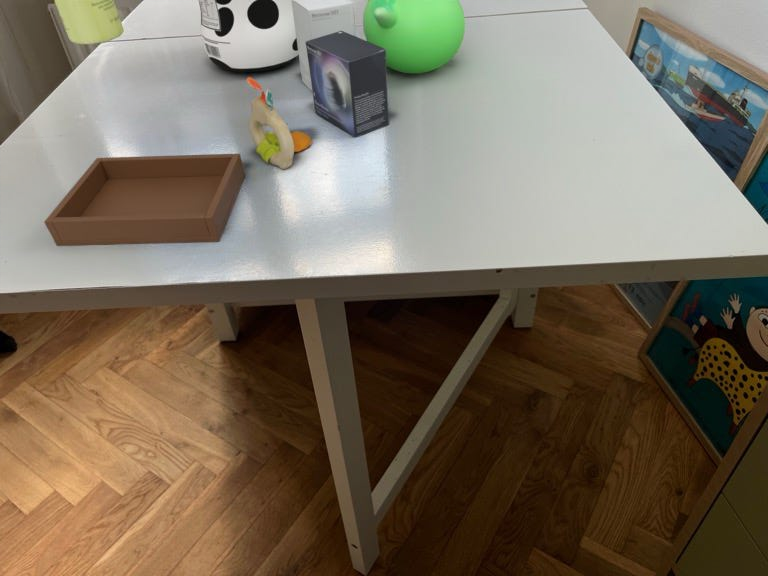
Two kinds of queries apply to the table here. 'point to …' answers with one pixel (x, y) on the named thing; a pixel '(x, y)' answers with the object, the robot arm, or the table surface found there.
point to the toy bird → (415, 32)
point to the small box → (349, 82)
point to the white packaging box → (319, 25)
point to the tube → (90, 20)
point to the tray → (149, 200)
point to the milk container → (248, 33)
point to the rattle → (276, 144)
